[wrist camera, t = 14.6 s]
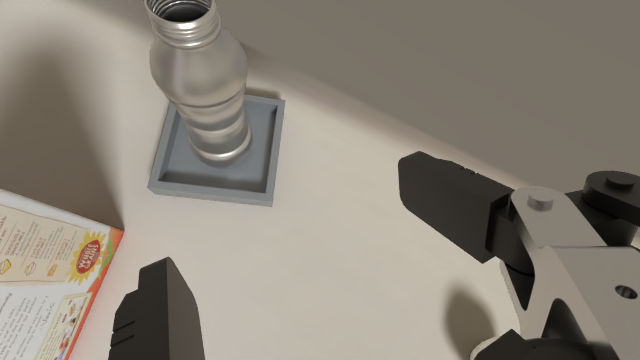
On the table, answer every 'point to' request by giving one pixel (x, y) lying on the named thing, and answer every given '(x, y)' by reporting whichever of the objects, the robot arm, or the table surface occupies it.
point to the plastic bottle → (202, 78)
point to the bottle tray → (221, 184)
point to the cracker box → (48, 276)
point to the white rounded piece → (481, 347)
